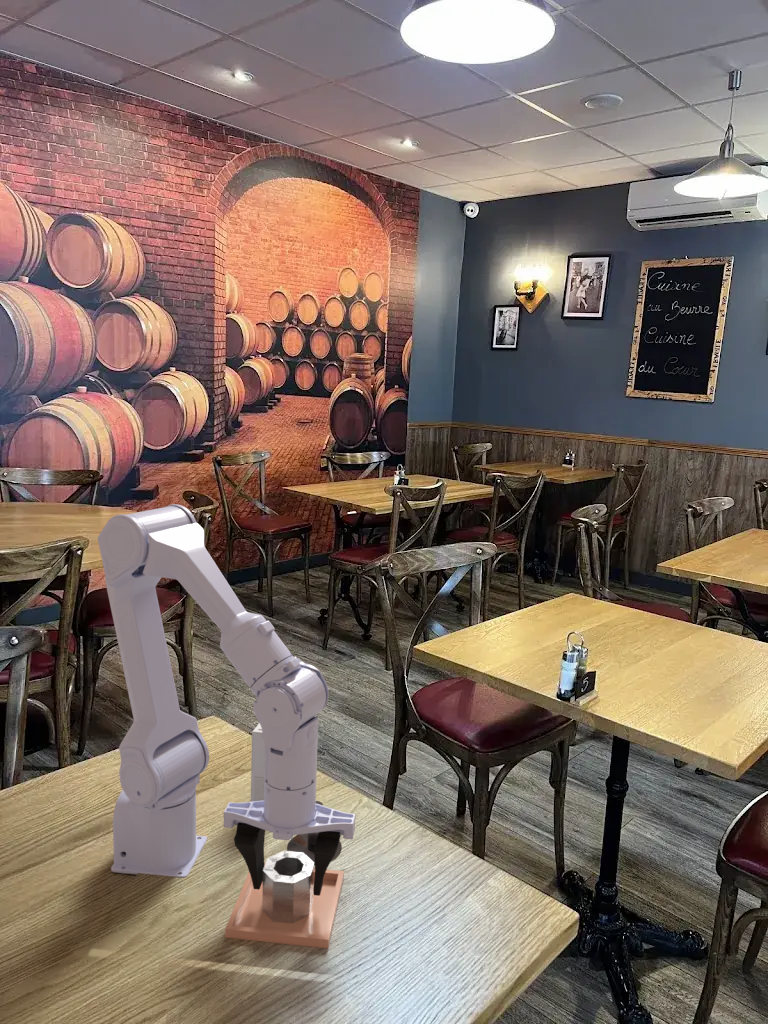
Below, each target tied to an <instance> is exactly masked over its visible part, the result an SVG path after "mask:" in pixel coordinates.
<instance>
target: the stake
mask: <svg viewBox="0 0 768 1024" xmlns="http://www.w3.org/2000/svg"><path fill="white" fill-rule="evenodd" d="M316 804H319V805H322V806H324V805H323V803H322V802H321V801H320V800H316ZM318 834H319V833H308V834H299V835H294V836H293V837H292V839H290V840H288V841H289V842H288V843H287V846H286V851H293V852H303V853H304V854H306V855H307V856H308V857H309V858H310V859H311V860H312V861H313V862H314V866H315V857H314V846H315V843H316V840H317V837H318ZM342 849H343V846H342V843H341V840H340V841H339V845H338V849H337V851H336V853H335V855H334V857H333V859H332V860H331V862H334V860H336V859H337V858H338V857H339V856H340V855H341V853H342Z"/></svg>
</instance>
